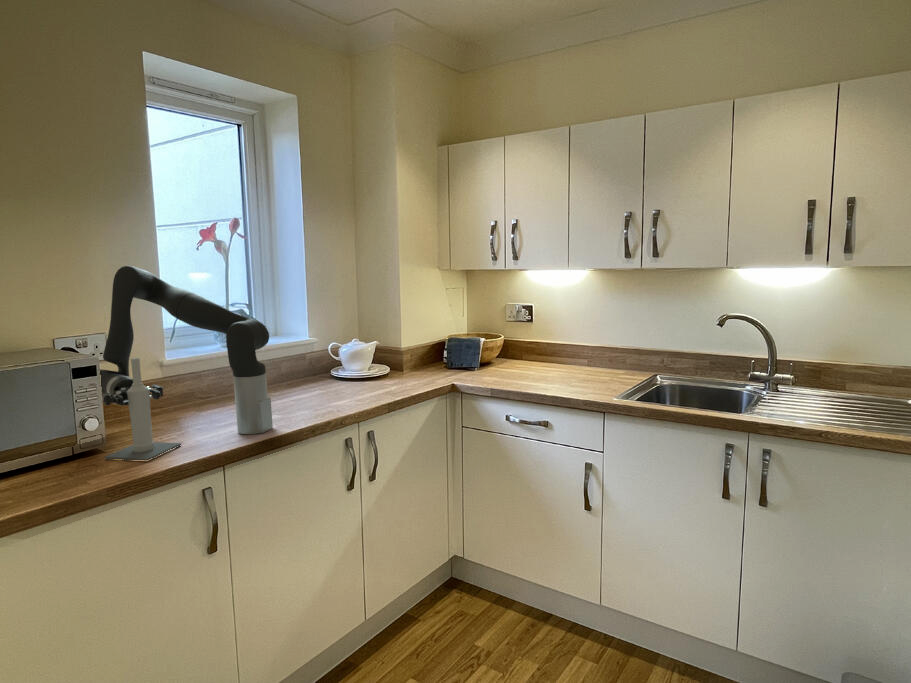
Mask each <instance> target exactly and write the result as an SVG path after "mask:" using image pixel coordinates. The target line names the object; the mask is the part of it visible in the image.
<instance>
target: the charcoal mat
mask: <svg viewBox="0 0 911 683" xmlns="http://www.w3.org/2000/svg"><path fill="white" fill-rule="evenodd" d="M132 445H133V444H132ZM132 445H129V446H128V447H125V448H122V449H120V450H117V451H115V452H113V453H110V454H108V455H106V456H104V459H105V458H106V459H122V460H123V459H124V460H149V459H151V458H154V457H156V456H158V455H160V454H162V453H164V452H166V451H168V450H170V449H173V448H175V447H177V446H180V445H181V446H182V443H181V442H165V441H163V442H160V441H159V442H158V441H154V448H153V449H152V450H150V451H146V452H134V450H133V446H132ZM181 446H180V447H181Z"/></svg>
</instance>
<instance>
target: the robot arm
mask: <svg viewBox="0 0 911 683" xmlns="http://www.w3.org/2000/svg"><path fill="white" fill-rule="evenodd" d="M111 291H112V293H111V294H112V295H111V307H110V308H111V309H110V321H109V329H108V334H107V339H106V342H105V346H104V350H103V355H102V358H103V361H105V362H107V363H110V364H113V365H114V366H117V369H118V370H109V369H99V370H100V375H101V387H102V394H101V400H102V401H101V402H102V404H104V405H105V406H110V405H111V404H112V403H113V405H119V406H121V407H122V406H129V403H128V395H127V391H128V390H129V389H130V388H131V387H132V384H133V377H130V368H129V367H130V357H131V354H132V349H133V345H134V339H135V338H134V327H133V322H132V318H131V309H132V308H131V307H132V302H133V300H134V299H139V300H143V301H147V302H150V303H153V304H155V305H158V306H160V307H162V308H163V309H164V310H166V311H167V313H169V314H170V315H171V316H173V317H174V318H175V319H177V320H179V321H181V322H183V323H184V324H187V325H189V326H191V327H195V328H198V329H202V330H206V331H212V332H217V333H222V334H225V340H226V341H225V342H226V348H227V349H226V350H227V358H228V364H229V366H230V369H231V370H232V376H233V390H234V391H233V392H234V401H235V413H236V427H237V433H238V434H241V435H255V434H264V433H266V432H267V431H270V430H271V429H273V428H274V425H273V413H272V412H273V410H272V398H271V397H270V396H269V395H268V387H267V386H268V384H267V371H266V370H267V369H266V364H265V363H264V362H260V361H259V360H258V358H257V353H256V351H258V350H261V349H262V348H265V346H266V345H267V344H268V343H269V341H270V340H269V339H270V333H269V331H268V329H267V327H266V326H265V324H264V323H263V322H261V321H260V320H257V319H254V318H251V317H247V316H244V315H243V314H242V315H241V314H240V313H236V312H234V311H231V310H230V309H228V308H225V307H224V306H221V305H219V304H217V303H215V302H213V301H211V300H209V299H207V298H205V297H203V296H201V295H199V294H197V293H194V292H191V291H190V290H187V289H185V288H181V287H178V286H177V287H176V286H174V285H172V284H170V283H168V282H166V281H165V280H163V279H161V278H159V277H158V276H156V275H155V274H153V273H151V272H150V271H148V270H145V269H142V268H139V267H136V266H133V265H124V266H121V267H120V268H118V269H117V271H116V272H115V274H114V277H113V283H112V290H111ZM145 386H146V385H145ZM146 387H147V388H149V395H150V399H151V398H152V399H153V400H156V401H157V400H159V399H160V398H161V397H163V396H164V387H163V386H161V385H157V384H151V387H150V386H146ZM268 396H269V397H268ZM272 427H273V428H272Z"/></svg>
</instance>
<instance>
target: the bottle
mask: <svg viewBox="0 0 911 683" xmlns="http://www.w3.org/2000/svg"><path fill="white" fill-rule="evenodd" d="M130 364H131V373H132V379H133V384H132V387H131V388H130V389H129V390H128V391H127V395H128V403H129V405H128V411H129V419H130V427H131V434H132V442H133V444H132V446H133V450H134V452H146V451H150V450H152V449H153V448H154V442H155V441H154V439H153V427H152V425H153V424H152V415H151V413H152V412H151V398H150V395H149V388H147V387H146V385H144V383H143V381H142V374H141V372H142V371H141V360H140V357H134V358H130Z"/></svg>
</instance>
